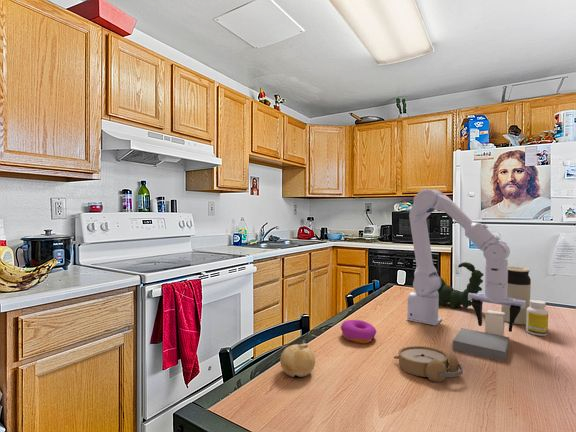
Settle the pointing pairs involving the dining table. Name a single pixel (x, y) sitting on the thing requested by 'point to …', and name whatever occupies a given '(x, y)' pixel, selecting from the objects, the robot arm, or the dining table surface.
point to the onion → (297, 360)
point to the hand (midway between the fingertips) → (495, 327)
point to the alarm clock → (429, 363)
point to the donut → (358, 331)
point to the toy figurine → (458, 297)
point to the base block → (481, 344)
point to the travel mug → (518, 292)
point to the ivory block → (494, 322)
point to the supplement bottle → (537, 318)
